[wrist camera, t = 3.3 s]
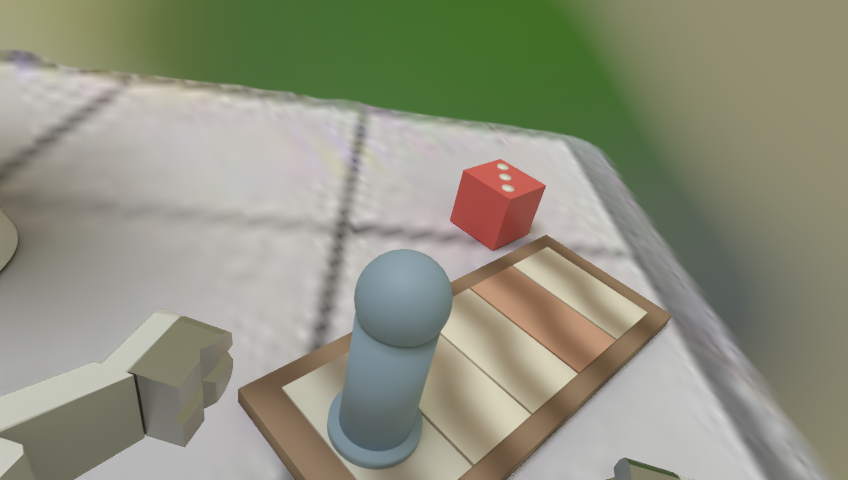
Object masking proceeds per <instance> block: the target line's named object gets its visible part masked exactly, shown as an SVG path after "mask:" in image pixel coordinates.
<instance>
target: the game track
mask: <svg viewBox="0 0 848 480" xmlns="http://www.w3.org/2000/svg"><path fill="white" fill-rule="evenodd" d="M450 284H451V287H452V295H453V302H452V309H451V313H450V316H449V319H448V321H447V323H446V324H445V326H444V327H443V329H442V330H441V332H440V336H439V339H438V343H437V346H436V349H435V353H434V356H433V359H432V363H431V366H430V369H429V373H428V376H427V379H426V383H425V386H424V389H423V393H422V396H421V399H420V403H419V408H420V411H421V414H422V421H423V426H422V432H421V435H420V439H419V442H418V444H417V447H416V448H415V450H414V452H413V453H412V454H411V455H410V456H409V457H408V458H407V459H406V460H405V461H403V462H402V463H400V464H398V465H396V466H394V467H390V468H386V469H377V470H375V469H366V468H362V467H359V466H356V465H354V464H352V463H350V462H348V461H347V460H345V459H344V458H343V457H341V456H340V455H339V454H338V452H337V451H336V450H335V449H334V447H333V446H332V444H331V442H330V439H329V436H328V431H327V422H328V414H329V409H330V406H331V404H332V401H333V400H334V398H335V397H336V396H337V394H338V393H339V392H340V391H341V390H343V386H344V380H345V374H346V368H347V362H348V356H349V349H350V343H351V337H352V332H351V333H349V334H347V335H345V336H343V337H341V338H339V339H337V340H335V341H333V342H331V343H329V344H327V345H325V346H323V347H321V348H319V349H317V350H315V351H313V352H311V353H309V354H307V355H305V356H303V357H301V358H299V359H297V360H295V361H293V362H291V363H289V364H287V365H285V366H283V367H281V368H279V369H277V370H275V371H273V372H271V373H269V374H267V375H265V376H263V377H261V378H259V379H257V380H255V381H253V382H251V383H249V384H247V385H245V386H243V387H241V388H239V389H238V402H239V403H240V405H241V406H242V407H243V409H244V410H245V411H246V413H247V414H248V416H249V417H250V418H251V420H252V421H253V422H254V424H255V425H256V426H257V428H258V429H259V431H260V432H261V433H262V435H263V436H264V437H265V439H266V440H267V441H268V443H269V444H270V446H271V447H272V448H273V450H274V451H275V452H276V454H277V455H278V456H279V458H280V459H281V460H282V462H283V463H284V465H285V466H286V467H287V469H288V470H289V471H290V473H291V474H292V475H293V477H294V478H295V480H506V479H507V478H508V477H509V476H510V475H511V474H512V473H513V472H514V471H515V470H516V469H517V468H518V467H519V466H520V465H521V464H522V463H523V462H524V461H525V460H526V459H527V458H528V457H530V456H531V455H532V454H533V453H534V452H535V451H536V450H537V449H538V448H539V447H540V446H541V445H542V444H543V443H544V442H545V441H546V440H547V439H548V438H549V437H550V436H551V435H552V434H553V433H554V432H555V431H556V430H557V429H559V428H560V427H561V426H562V425H563V424H564V423H565V422H566V421H567V420H568V419H569V418H570V417H571V416H572V415H573V414H574V413H575V412H576V411H577V410H578V409H579V408H580V407H581V406H582V405H583V404H584V403H585V402H587V401H588V400H589V399H590V398H591V397H592V396H593V395H594V394H595V393H596V392H597V391H598V390H599V389H600V388H601V387H602V386H603V385H604V384H605V383H606V382H607V381H608V380H609V379H610V378H611V377H612V376H613V375H614V374H616V373H617V372H618V371H619V370H620V369H621V368H622V367H623V366H624V365H625V364H626V363H627V362H628V361H629V360H630V359H631V358H632V357H633V356H634V355H635V354H636V353H637V352H638V351H639V350H640V349H641V348H642V347H643V346H645V345H646V344H647V343H648V342H649V341H650V340H651V339H652V338H653V337H654V336H655V335H656V334H657V333H658V332H659V331H660V330H661V329H662V328H663V327H664V326H665V325H666V324H667V322H668V321H669V319H670V318H671V316H672V315H671V314H669V313H668V312H666V311H664V310H663V309H661V308H660V307H658V306H657V305H655V304H654V303H652V302H650V301H649V300H647V299H646V298H644V297H643V296H641V295H640V294H638V293H636V292H635V291H633V290H632V289H630V288H629V287H627V286H626V285H624V284H622V283H621V282H619V281H618V280H616V279H615V278H613V277H611V276H610V275H608V274H607V273H605V272H604V271H602V270H601V269H599V268H597V267H596V266H594V265H593V264H591V263H590V262H588V261H587V260H585V259H583V258H582V257H580V256H579V255H577V254H576V253H574V252H573V251H571V250H569V249H568V248H566V247H565V246H563V245H562V244H560V243H559V242H557V241H555V240H554V239H552V238H551V237H549V236H548V235H545V236H543V237H541V238H539V239H537V240H535V241H533V242H531V243H529V244H527V245H525V246H523V247H521V248H519V249H517V250H515V251H513V252H511V253H509V254H507V255H505V256H503V257H501V258H499V259H497V260H495V261H493V262H491V263H489V264H487V265H485V266H483V267H481V268H479V269H477V270H475V271H473V272H471V273H469V274H467V275H465V276H463V277H461V278H459V279H457V280H455V281H453V282H451V283H450Z"/></svg>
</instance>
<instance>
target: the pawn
mask: <svg viewBox="0 0 848 480" xmlns="http://www.w3.org/2000/svg"><path fill="white" fill-rule="evenodd" d="M354 302H355V310H356V313H355V319H354V325H353V331H352V337H351V343H350V349H349V356H348V362H347V368H346V374H345V380H344V386H343V390H341V391H340V392H339V393H338V394H337V396H336V397H335V398H334V400H333V401H332V404H331V406H330V409H329V414H328V422H327V431H328V436H329V439H330V442H331V444H332V446H333V447H334V449H335V450H336V451H337V452H338V454H339V455H340V456H341V457H343V458H344V459H345V460H347V461H348V462H350V463H352V464H354V465H356V466H359V467H362V468H366V469H375V470H377V469H386V468H390V467H394V466H396V465H398V464H400V463H402V462H403V461H405V460H406V459H407V458H408V457H409V456H410V455H411V454H412V453H413V452H414V450H415V448H416V447H417V444H418V442H419V439H420V435H421V432H422V426H423V421H422V414H421V411H420V408H419V403H420V399H421V396H422V393H423V389H424V386H425V383H426V379H427V376H428V373H429V369H430V366H431V363H432V359H433V356H434V353H435V349H436V346H437V343H438V339H439V336H440V332H441V330H442V329H443V327H444V326H445V324H446V323H447V321H448V319H449V316H450V313H451V309H452V302H453V295H452V287H451V284H450V281H449V279H448V277H447V275H446V273H445V271H444V270H443V268H442V267H441V266H440V265H439V264H438V263H437V262H436V261H435V260H433V259H432V258H431V257H429V256H427V255H426V254H423V253H421V252H418V251H414V250H408V249H400V250H393V251H389V252H386V253H384V254H382V255H380V256H378V257H377V258H375V259H374V260H373V261H371V262H370V263H369V264H368V265H367V266H366V268H365V269H364V270H363V272H362V273H361V275H360V277H359V279H358V281H357V285H356V288H355V296H354Z"/></svg>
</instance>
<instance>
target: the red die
mask: <svg viewBox="0 0 848 480" xmlns="http://www.w3.org/2000/svg"><path fill="white" fill-rule="evenodd" d="M545 187H546V185H544V184H542V183H541V182H539V181H537V180H536V179H534V178H532V177H530V176H529V175H527V174H525V173H523V172H522V171H520V170H518V169H517V168H515V167H513V166H511V165H510V164H508V163H506V162H505V161H503V160H501V159H499V160H496V161H493V162H489V163H486V164H483V165H479V166H476V167H473V168H469V169H466V170H463V174H462V178H461V181H460V185H459V189H458V193H457V196H456V200H455V204H454V207H453V211H452V215H451V219H450V221H451V222H453V223H454V224H456V225H457V226H458V227H460V228H461V229H463V230H464V231H465V232H467V233H468V234H470V235H471V236H473V237H474V238H475V239H477V240H478V241H480V242H481V243H482V244H484V245H485V246H487V247H488V248H489V249H491V250H492V251H494V250H496V249H498V248H500V247H502V246H504V245H506V244H508V243H510V242H512V241H515V240H517V239H519V238H521V237H523V236H525V235H527V234H528V232H529V229H530V227H531V224H532V221H533V219H534V216H535V213H536V211H537V208H538V205H539V203H540V200H541V197H542V195H543V192H544V189H545Z"/></svg>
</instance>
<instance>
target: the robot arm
mask: <svg viewBox="0 0 848 480" xmlns="http://www.w3.org/2000/svg"><path fill="white" fill-rule="evenodd" d="M17 243H18V233H17V230H16V228H15V226H14V224H13V223H12V222H11V221H10V219H9V218H8V217H7V216H6V215H5V213H4V212H3V211H2V210H1V208H0V270H1V269H2V268H3V267H4V266H5V265H6V264H7V263H8V261H9V260H10V259H11V257H12V255H13V254H14V252H15V250H16V247H17ZM231 346H232V333H230V332H228V331H225V330H222V329H220V328H217V327H214V326H211V325H208V324H205V323H202V322H200V321H197V320H194V319H191V318H188V317H185V316H182V315H179V314H176V313H173V312H170V311H167V310H164V309H161V310H159V311H157V312H154V313H153V314H152V315H151V316H150V317H149V318H148V319H147V320H146V321H145V322H144V323H143V324H142V325H141V326H139V327H138V328H137V329H136V330H135V331H134V332H133V333H132V334H131V335H130V336H129V337H128V338H127V339H126V340H125V341H124V342H123V343H122V344H121V345H120V346H119V347H118V348H117V349H116V350H115V351H114V352H113V353H112V354H111V355H110V356H109V357H108V358H107V359H105V360H104V361H103V362H102V363H101V364H100V363H97V362H92V363H89V364H87V365H84V366H81V367H79V368H76V369H73V370H71V371H68V372H65V373H63V374H60V375H57V376H55V377H52V378H49V379H47V380H44V381H41V382H39V383H36V384H33V385H30V386H28V387H25V388H22V389H20V390H17V391H14V392H12V393H9V394H6V395H4V396H1V397H0V480H74V479H76V478H77V477H79V476H81V475H82V474H84V473H86V472H87V471H89V470H91V469H92V468H94V467H96V466H98V465H99V464H101V463H103V462H104V461H106V460H108V459H109V458H111V457H113V456H114V455H116V454H118V453H119V452H121V451H123V450H125V449H126V448H128V447H130V446H131V445H133V444H135V443H136V442H138V441H140V440H141V439H143V438H144V437H145V436H144V435H146V436H150V437H153V438H156V439H159V440H162V441H166V442H169V443H172V444H175V445H179V446H182V447H186V445H187V444H188V442H189V441H190V440H191V438H192V437H193V435H194V434H195V433H196V431H197V430H198V428H199V427H200V426H201V424H202V423H203V421H204V408H207V407H209V406H211V405H213V404H215V403H217V402H218V400H219V399H220V397H221V396H222V394H223V393H224V391H225V389H226V387H227V385H228V382H229V380H230V378H231V374H232V369H233V359H232V357H231V356H230V355H229V353H228V352H227V351H228V350H229V348H230V347H231ZM614 473H615V477H613V478H610V479H607V480H694V479H690V478H687V477H684V476H681V475H678V474H675V473H673V472H670V471H667V470H664V469H660V468H657V467H654V466H651V465H647V464H644V463H641V462H637V461H634V460H631V459H628V458H623V459H621V460H619V461H618V463H617V464H616V465H615V467H614Z"/></svg>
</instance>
